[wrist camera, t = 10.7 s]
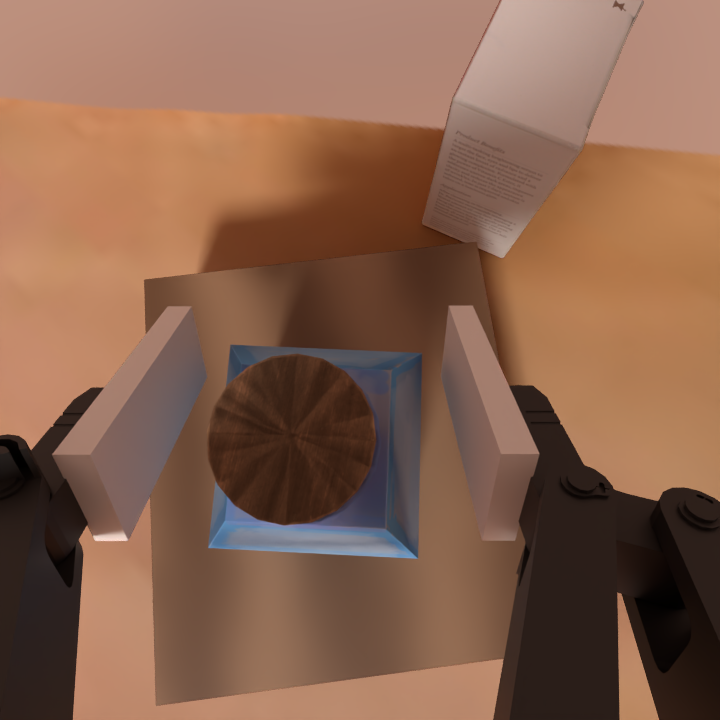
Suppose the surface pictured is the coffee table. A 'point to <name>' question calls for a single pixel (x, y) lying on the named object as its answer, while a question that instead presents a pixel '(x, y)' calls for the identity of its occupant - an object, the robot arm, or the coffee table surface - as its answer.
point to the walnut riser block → (311, 570)
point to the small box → (523, 114)
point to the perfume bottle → (317, 452)
